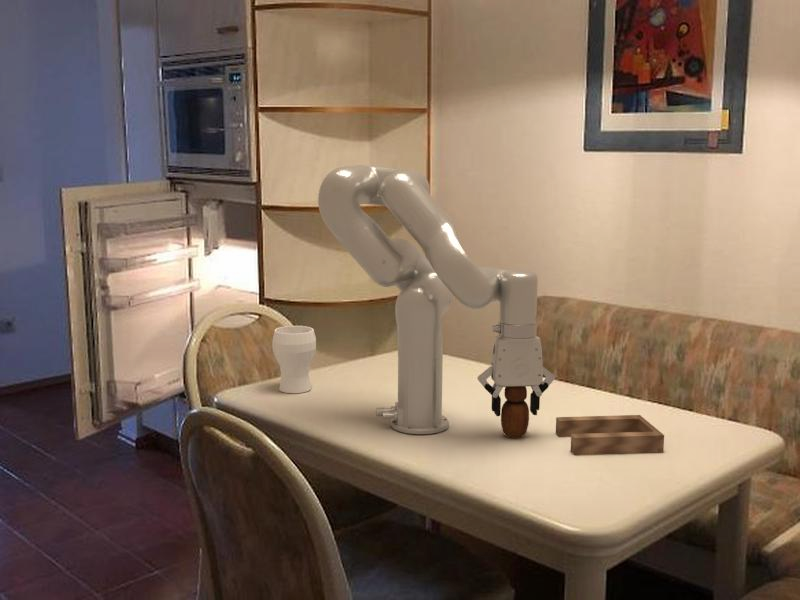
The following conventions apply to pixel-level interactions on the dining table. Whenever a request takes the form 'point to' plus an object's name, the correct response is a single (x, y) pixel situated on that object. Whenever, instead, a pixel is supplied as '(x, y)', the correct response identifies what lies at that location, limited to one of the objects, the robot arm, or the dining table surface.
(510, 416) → the wooden figurine
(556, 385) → the dining table surface
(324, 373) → the dining table surface
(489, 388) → the robot arm
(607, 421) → the u rest
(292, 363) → the cup
